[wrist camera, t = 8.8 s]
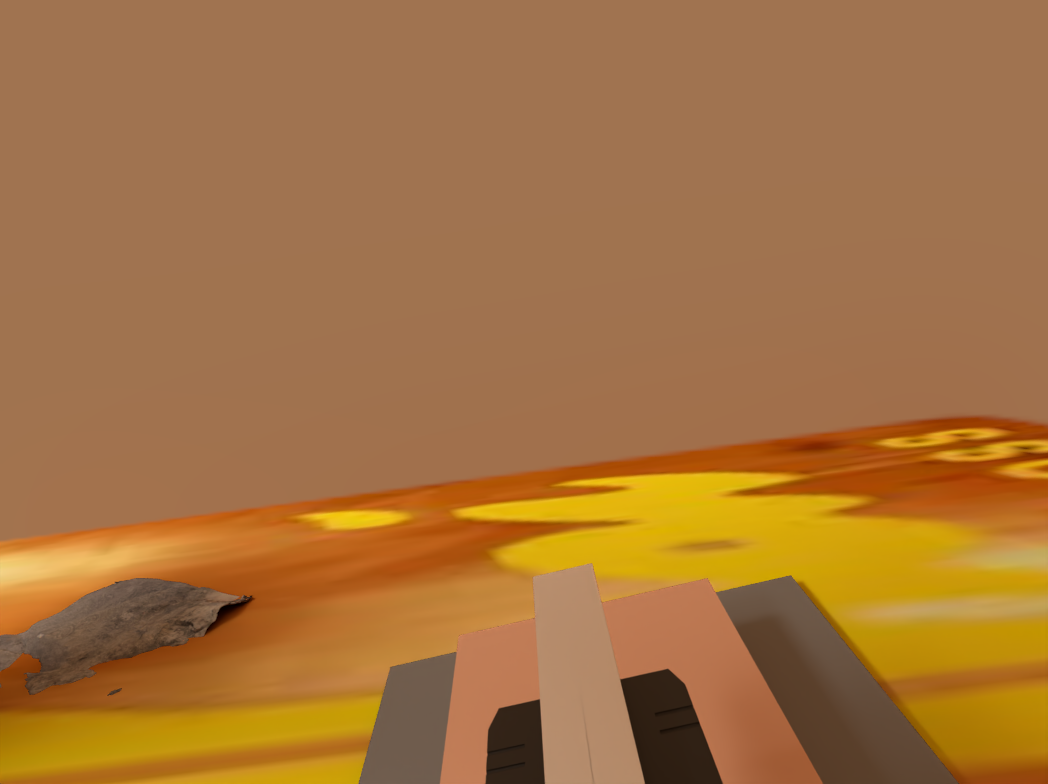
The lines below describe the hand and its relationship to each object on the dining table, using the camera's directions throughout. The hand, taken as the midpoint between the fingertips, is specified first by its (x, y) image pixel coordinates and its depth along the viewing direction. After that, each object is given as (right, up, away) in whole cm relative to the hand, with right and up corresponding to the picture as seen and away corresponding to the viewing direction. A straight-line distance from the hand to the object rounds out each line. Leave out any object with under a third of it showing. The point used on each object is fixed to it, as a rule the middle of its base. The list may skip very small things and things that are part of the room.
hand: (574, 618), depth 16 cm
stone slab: (-27, -10, +24) cm, 38 cm away
